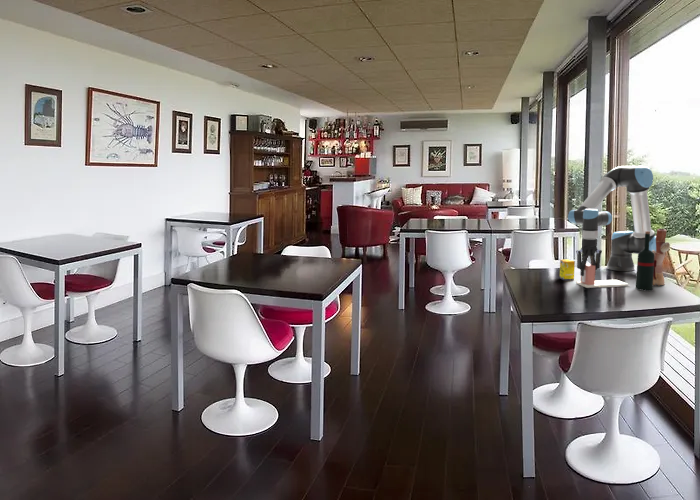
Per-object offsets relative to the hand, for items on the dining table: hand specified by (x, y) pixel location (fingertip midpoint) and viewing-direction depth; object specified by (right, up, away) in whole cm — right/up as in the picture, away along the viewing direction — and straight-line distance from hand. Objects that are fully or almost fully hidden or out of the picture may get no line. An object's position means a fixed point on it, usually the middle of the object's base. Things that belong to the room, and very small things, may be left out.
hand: (587, 281), depth 309 cm
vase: (+37, -2, 0) cm, 37 cm away
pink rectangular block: (0, -2, 0) cm, 2 cm away
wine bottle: (+26, -3, -10) cm, 28 cm away
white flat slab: (+12, -2, +2) cm, 12 cm away
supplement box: (-5, 0, +17) cm, 17 cm away
